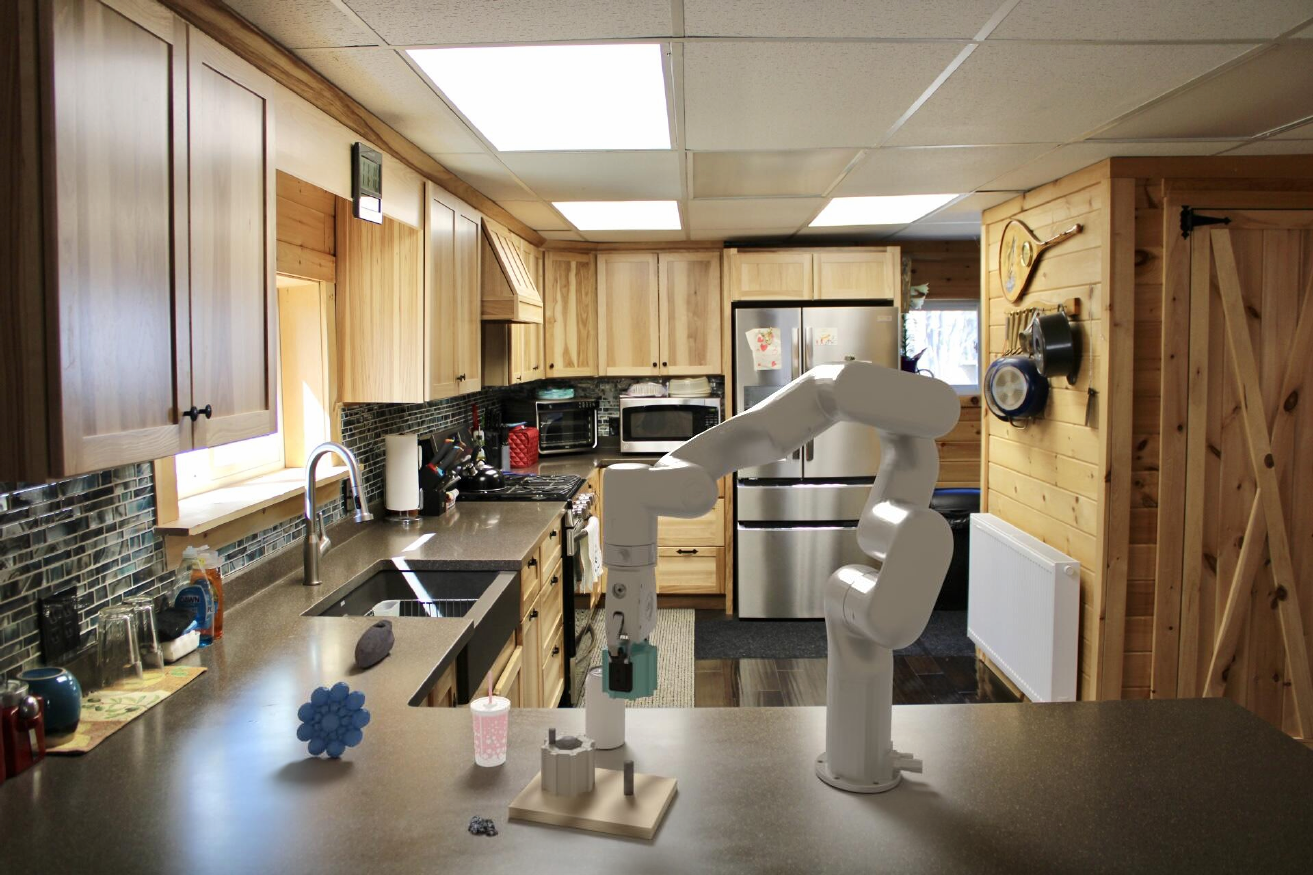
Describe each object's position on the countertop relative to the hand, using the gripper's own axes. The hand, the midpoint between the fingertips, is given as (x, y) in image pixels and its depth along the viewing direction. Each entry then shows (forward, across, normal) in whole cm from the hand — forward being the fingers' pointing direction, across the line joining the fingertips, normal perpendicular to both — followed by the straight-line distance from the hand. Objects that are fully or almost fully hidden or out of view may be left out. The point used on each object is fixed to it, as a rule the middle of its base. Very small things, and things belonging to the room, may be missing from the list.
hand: (629, 679), depth 117 cm
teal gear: (+1, 0, 0) cm, 1 cm away
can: (+18, +18, +10) cm, 27 cm away
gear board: (+18, -1, +5) cm, 18 cm away
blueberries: (+18, -11, +16) cm, 27 cm away
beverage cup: (+18, +7, +25) cm, 31 cm away
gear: (+16, 0, +9) cm, 19 cm away
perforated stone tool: (+18, +42, +69) cm, 82 cm away
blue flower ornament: (+18, +2, +49) cm, 52 cm away
